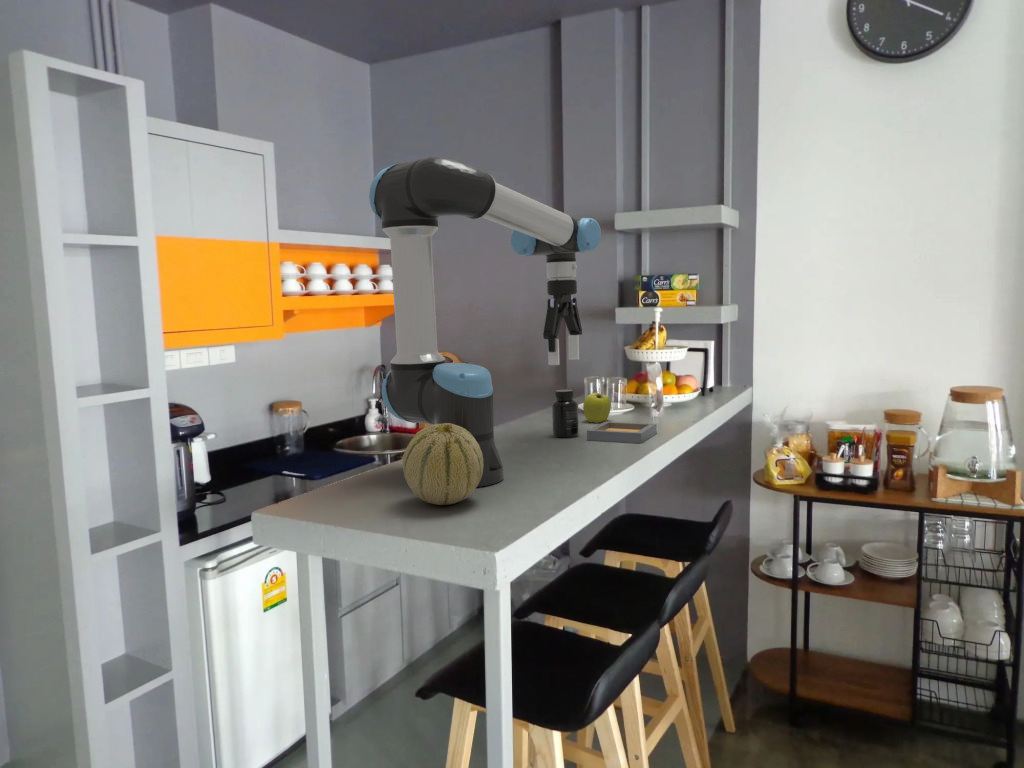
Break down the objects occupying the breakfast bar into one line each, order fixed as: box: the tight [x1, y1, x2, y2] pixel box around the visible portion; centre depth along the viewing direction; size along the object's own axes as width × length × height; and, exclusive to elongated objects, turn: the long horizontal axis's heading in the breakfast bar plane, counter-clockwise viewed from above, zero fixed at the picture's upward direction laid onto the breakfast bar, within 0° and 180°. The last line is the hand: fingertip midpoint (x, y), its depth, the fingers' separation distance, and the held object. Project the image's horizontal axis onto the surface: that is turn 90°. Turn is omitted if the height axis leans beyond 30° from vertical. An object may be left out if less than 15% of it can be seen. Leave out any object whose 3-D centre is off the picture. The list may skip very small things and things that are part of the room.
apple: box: [582, 388, 612, 424], centre depth 217 cm, size 8×8×10 cm
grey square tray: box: [586, 420, 658, 444], centre depth 194 cm, size 14×14×2 cm
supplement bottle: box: [551, 389, 580, 439], centre depth 197 cm, size 7×7×12 cm
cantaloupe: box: [402, 423, 484, 506], centre depth 137 cm, size 15×15×15 cm
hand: (564, 362), depth 196 cm, fingers open, 13 cm apart
